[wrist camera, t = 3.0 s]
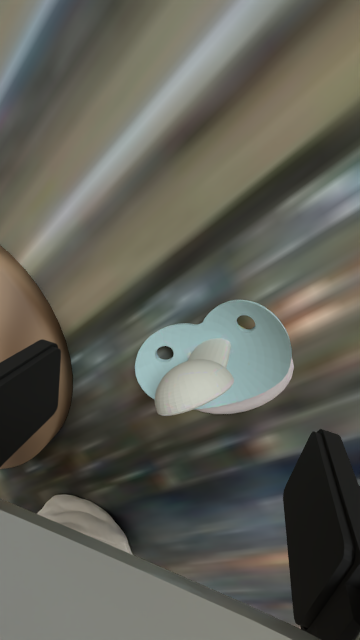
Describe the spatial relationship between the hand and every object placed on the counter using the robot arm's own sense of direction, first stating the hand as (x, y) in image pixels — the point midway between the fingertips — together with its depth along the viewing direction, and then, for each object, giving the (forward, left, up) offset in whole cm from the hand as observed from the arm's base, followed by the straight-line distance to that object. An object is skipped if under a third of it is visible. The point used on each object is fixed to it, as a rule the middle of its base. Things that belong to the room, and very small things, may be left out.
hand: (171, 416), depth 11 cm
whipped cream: (+5, +18, -6) cm, 20 cm away
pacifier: (-1, 0, -6) cm, 6 cm away
